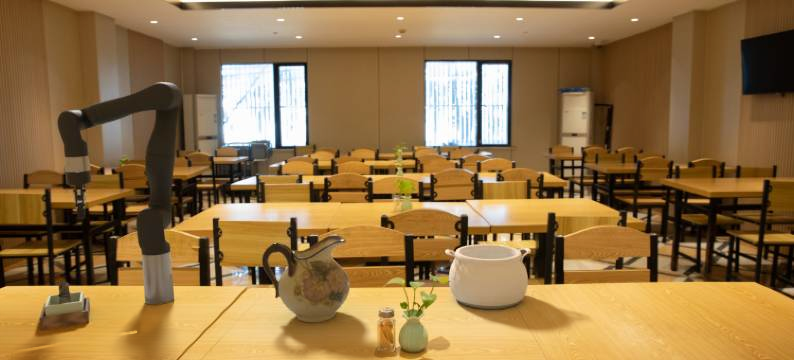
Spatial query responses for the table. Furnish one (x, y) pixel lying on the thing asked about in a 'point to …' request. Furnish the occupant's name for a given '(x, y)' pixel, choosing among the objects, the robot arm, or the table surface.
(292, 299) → the pitcher
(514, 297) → the pot
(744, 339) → the table surface
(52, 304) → the green crate
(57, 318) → the box
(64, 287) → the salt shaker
